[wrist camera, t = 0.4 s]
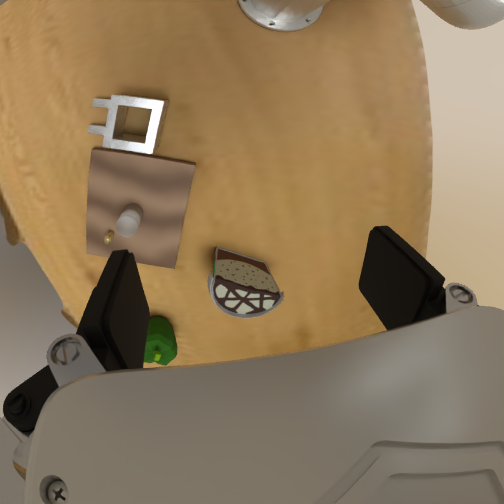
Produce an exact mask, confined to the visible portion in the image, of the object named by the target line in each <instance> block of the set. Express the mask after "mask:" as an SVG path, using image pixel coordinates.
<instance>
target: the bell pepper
mask: <svg viewBox="0 0 504 504" xmlns="http://www.w3.org/2000/svg"><path fill="white" fill-rule="evenodd" d="M176 355H177V343H176V338H175V334H174V330H173V328H172V327H171V325H170V323H169V322H168V321H167V320H166V319H164V318H162V317H153V318H151V319H149V324H148V331H147V338H146V346H145V354H144V362H147V363H152V362H154V361H155V362H156V363H158V364H161V365H165V366H166V365H167V364H168V363H169V362H170V361H172V360H173V359H174V358H175V357H176Z"/></svg>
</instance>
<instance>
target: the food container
mask: <svg viewBox="0 0 504 504" xmlns="http://www.w3.org/2000/svg"><path fill="white" fill-rule="evenodd" d="M208 289H209V293H210V295H211V297H212V300H213V302H214V303H215V304H216V306H218V308H219V309H220V310H222V311H223V312H224V313H226V314H228V315H230V316H233V317H238V318H254V317H258V316H262V315H264V314H267V313H269V312H270V311H272V310H274V309H275V308H276V307H277V306H278V305H279V304H280V303H281V302H282V301H283V300H284V299H283V298H284V293H283V292H282V293H281V292H280V290H279V288H278V286H277V284H276V282H275V280H274V278H273V276H272V274H271V272H270V270H269V268H268V266H267V264H266V262H264V261H261V260H258V259H254V258H251V257H248V256H245V255H242V254H239V253H235V252H232V251H229V250H226V249H223V248H220V247H216V250H215V255H214V266H213V275H212V273H211V271H210V273H209V276H208Z"/></svg>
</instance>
